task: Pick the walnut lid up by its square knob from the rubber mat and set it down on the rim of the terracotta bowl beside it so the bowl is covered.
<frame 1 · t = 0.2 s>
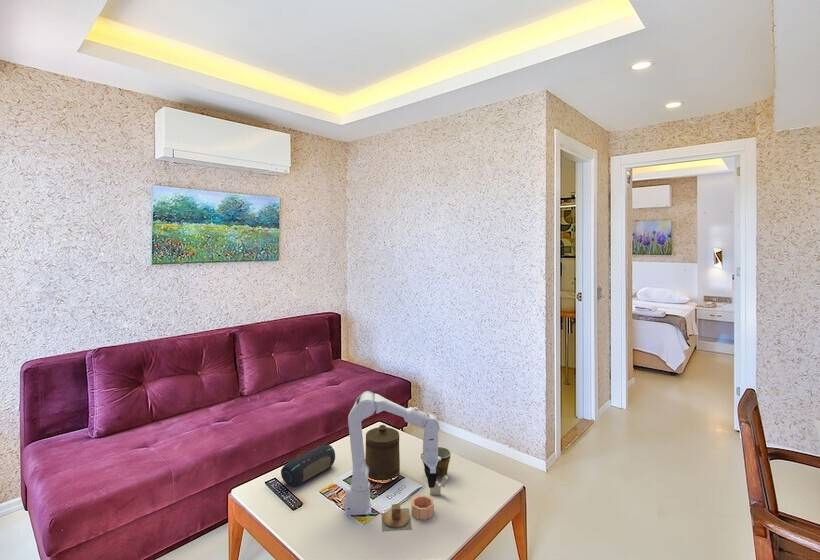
hand: (430, 481, 160), 10 cm above the table, tool pointing down, fingers open, 7 cm apart
wooden container: (382, 474, 183), on the table
lid: (396, 519, 152), resting on mat
bowl: (422, 513, 156), on the table
mat: (396, 520, 152), on the table
ceramic cup: (435, 474, 183), on the table
lighter: (438, 495, 168), on the table
portable speaker: (310, 475, 182), on the table
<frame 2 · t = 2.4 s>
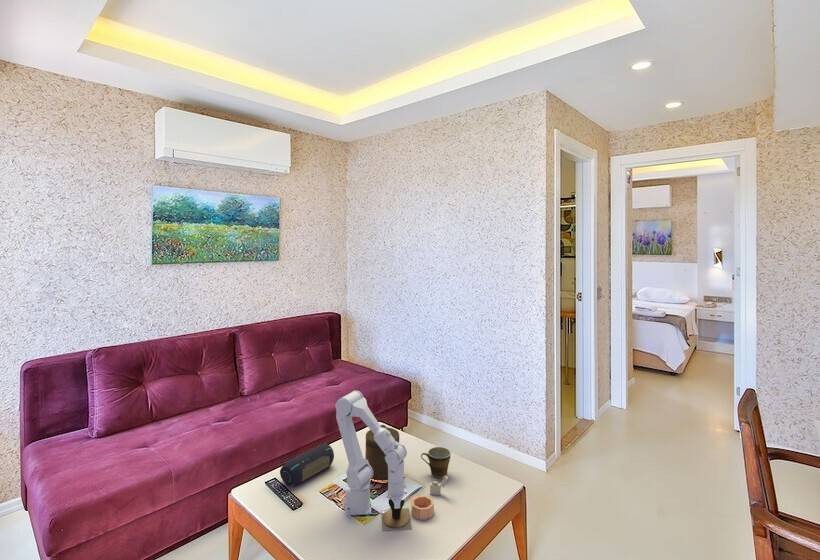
hand: (396, 515, 152), 2 cm above the table, tool pointing down, fingers closed on lid, 3 cm apart
lid: (396, 519, 152), resting on mat, touching gripper
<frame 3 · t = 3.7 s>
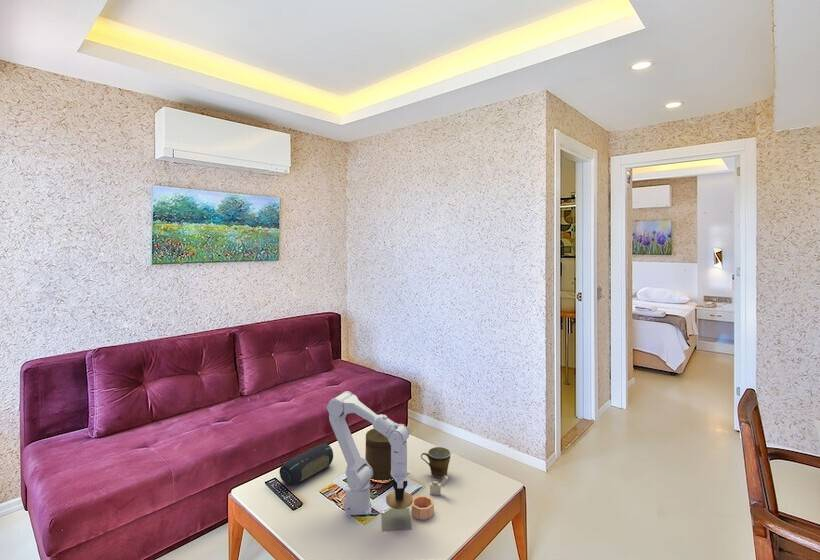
hand: (399, 496, 152), 9 cm above the table, tool pointing down, fingers closed on lid, 3 cm apart
lid: (399, 500, 152), point 7 cm above the table, touching gripper
when the fingers open (7 cm above the table, at t = 5.0 s): lid stays where it is, resting on bowl.
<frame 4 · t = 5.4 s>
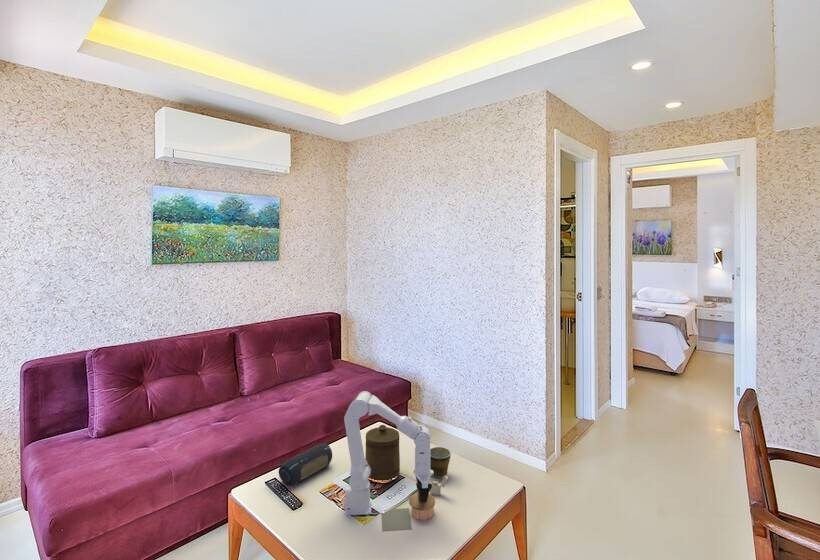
hand: (422, 495, 156), 7 cm above the table, tool pointing down, fingers open, 7 cm apart
lid: (422, 502, 156), point 4 cm above the table, touching bowl
bowl: (422, 513, 156), on the table, touching lid
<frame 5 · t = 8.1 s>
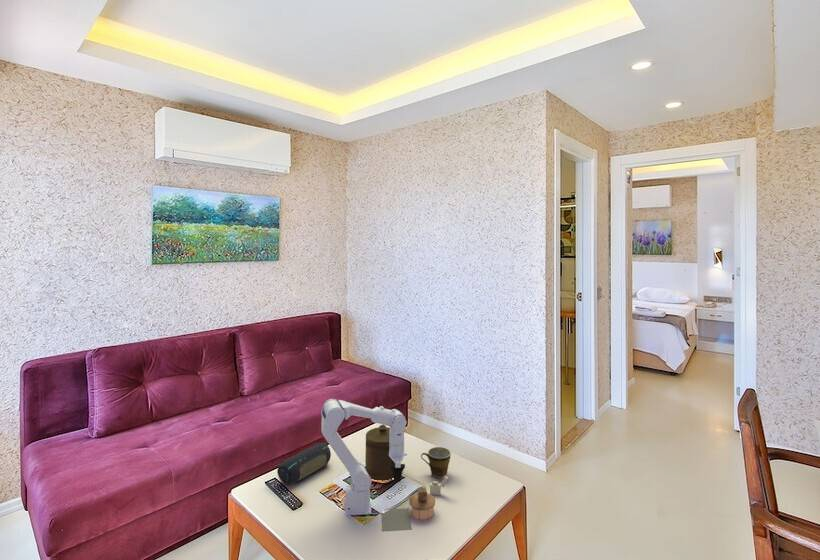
hand: (396, 475, 163), 10 cm above the table, tool pointing down, fingers open, 7 cm apart
lid: (422, 502, 156), point 4 cm above the table
bowl: (422, 513, 156), on the table
at the end: lid 0.1 cm off-centre on the bowl, point 4.5 cm above the bowl's base; lid tilted 0°; bowl tilted 0° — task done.
